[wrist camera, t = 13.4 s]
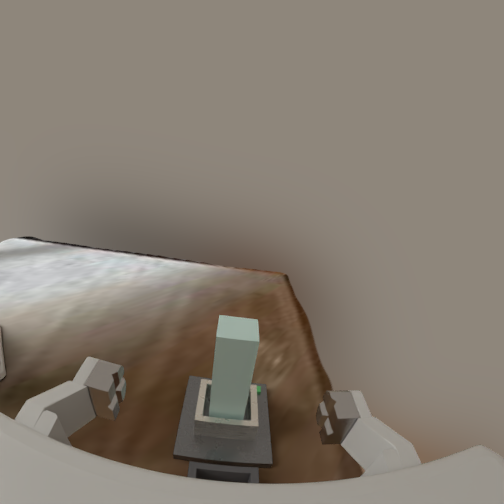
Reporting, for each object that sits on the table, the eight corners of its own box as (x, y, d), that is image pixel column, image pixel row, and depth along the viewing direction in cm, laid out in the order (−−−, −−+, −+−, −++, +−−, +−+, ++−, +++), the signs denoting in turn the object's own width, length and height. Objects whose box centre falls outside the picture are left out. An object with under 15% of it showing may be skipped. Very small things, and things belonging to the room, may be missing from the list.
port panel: (270, 467, 27) (278, 450, 26) (173, 458, 26) (172, 440, 25) (264, 388, 40) (269, 369, 39) (189, 380, 39) (190, 360, 38)
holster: (256, 529, 19) (260, 523, 18) (183, 523, 18) (182, 517, 17) (254, 477, 25) (258, 467, 25) (189, 471, 25) (189, 461, 24)
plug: (240, 430, 31) (259, 341, 27) (207, 426, 31) (216, 336, 26) (241, 407, 35) (257, 319, 30) (210, 403, 35) (219, 314, 30)
